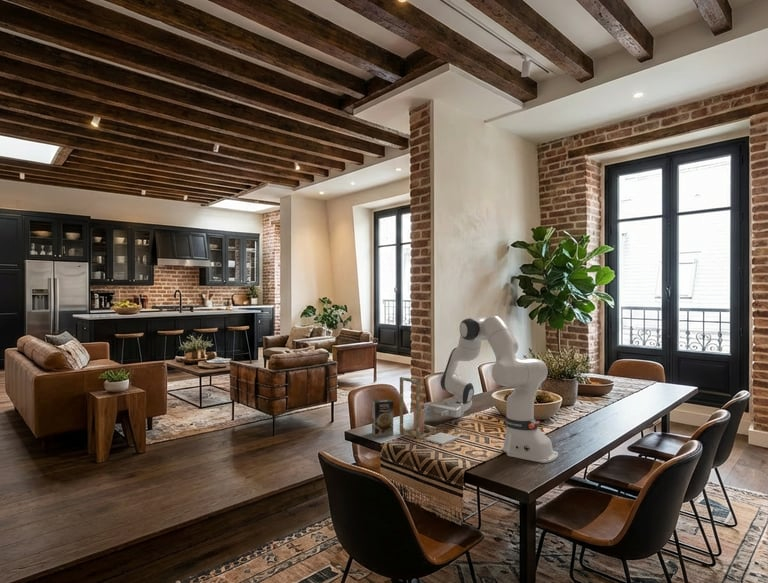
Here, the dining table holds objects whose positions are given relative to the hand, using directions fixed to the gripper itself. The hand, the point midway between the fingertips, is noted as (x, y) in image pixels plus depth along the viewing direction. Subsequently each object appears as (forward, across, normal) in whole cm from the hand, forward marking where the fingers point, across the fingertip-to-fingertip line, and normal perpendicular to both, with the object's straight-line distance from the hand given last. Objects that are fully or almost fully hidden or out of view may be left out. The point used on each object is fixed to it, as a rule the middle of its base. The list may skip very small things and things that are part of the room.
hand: (432, 412), depth 229 cm
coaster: (+11, +13, +8) cm, 19 cm away
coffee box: (+24, -12, +8) cm, 28 cm away
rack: (+11, 0, +8) cm, 13 cm away
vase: (+11, 0, +8) cm, 14 cm away
